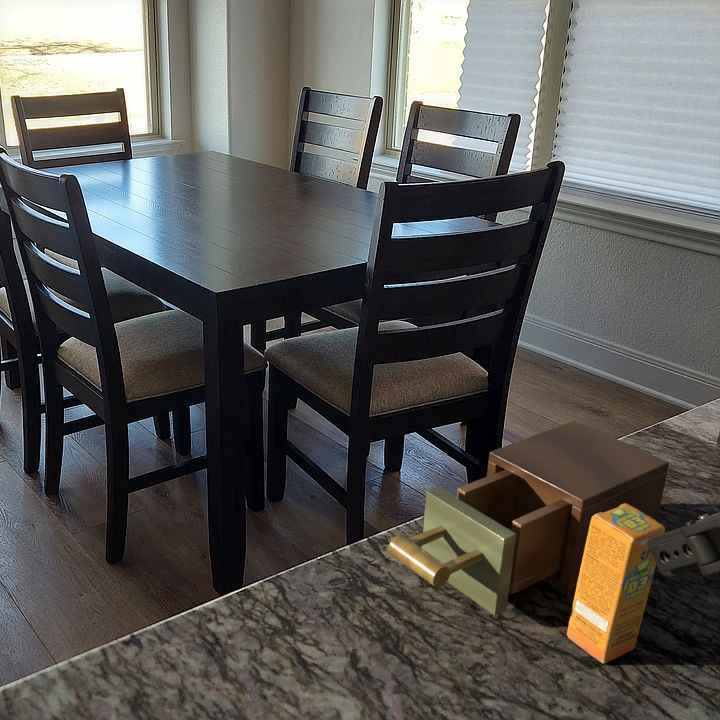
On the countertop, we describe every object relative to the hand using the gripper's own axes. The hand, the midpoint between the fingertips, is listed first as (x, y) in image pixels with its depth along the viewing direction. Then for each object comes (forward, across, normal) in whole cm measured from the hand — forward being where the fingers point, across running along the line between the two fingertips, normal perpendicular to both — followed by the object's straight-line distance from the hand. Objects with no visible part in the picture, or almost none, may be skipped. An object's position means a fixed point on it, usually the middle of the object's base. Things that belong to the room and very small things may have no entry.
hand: (707, 536), depth 49 cm
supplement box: (+12, 0, +5) cm, 13 cm away
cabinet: (+19, -7, -2) cm, 20 cm away
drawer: (+17, +3, -2) cm, 18 cm away
